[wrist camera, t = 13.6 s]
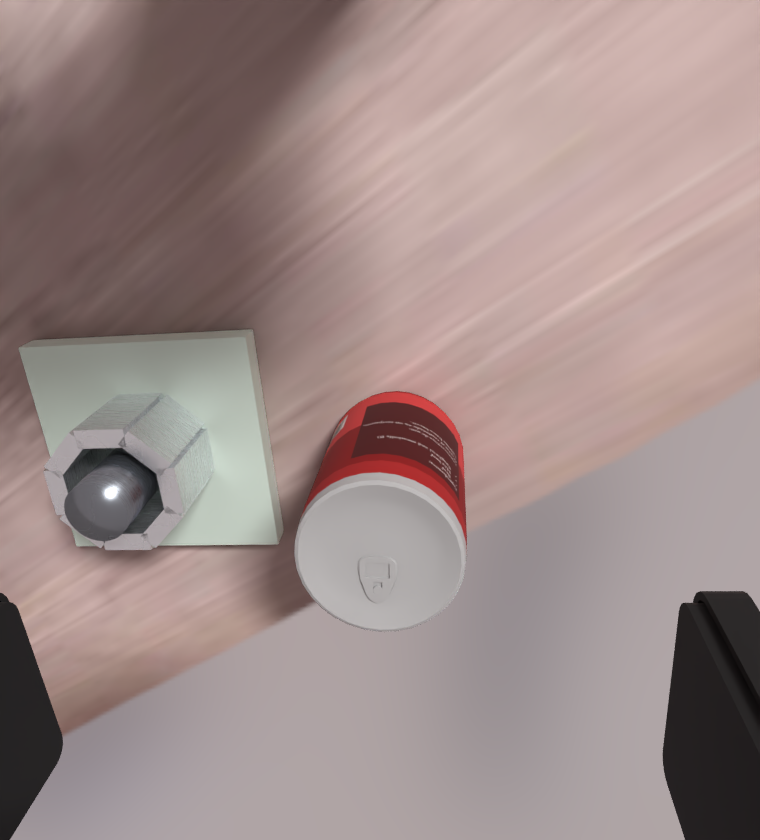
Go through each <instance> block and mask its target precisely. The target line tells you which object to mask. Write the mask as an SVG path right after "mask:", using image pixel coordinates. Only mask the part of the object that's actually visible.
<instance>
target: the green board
mask: <svg viewBox="0 0 760 840" xmlns="http://www.w3.org/2000/svg"><path fill="white" fill-rule="evenodd" d="M18 349H19V352H20V356H21V359H22V362H23V366H24V369H25V373H26V376H27V379H28V383H29V386H30V390H31V393H32V396H33V400H34V403H35V407H36V410H37V413H38V417H39V420H40V424H41V427H42V430H43V434H44V437H45V440H46V444H47V447H48V451H49V454H50V457H51V456H52V455H53V453H54V452H55V451H56V449H57V448H58V447H59V445H60V444H61V442H62V441H63V440H64V438H65V437H66V436H67V434H68V433H69V432H70V431H71V430H73V429H74V428H75V427H76V426H78V425H79V424H80V423H81V422H83V421H84V420H85V419H86V418H88V417H89V416H90V415H91V414H93V413H94V412H95V411H96V410H98V409H99V408H100V407H102V406H103V405H104V404H105V403H107V402H108V401H109V400H110V399H112V398H113V397H114V396H115V397H116V396H117V395H118V394H141V393H163V398H164V397H165V396H166V395H169V396H170V397H171V398H172V399H174V400H175V401H176V402H178V403H179V404H180V405H181V406H183V407H184V408H185V409H187V410H188V411H189V412H190V413H192V414H193V415H194V416H195V417H197V418H198V419H199V420H201V421H202V422H203V423H204V425H203V426H202V427H201V428H207V429H208V435H209V440H210V445H211V451H212V456H213V461H214V466H215V469H214V471H213V472H214V473H213V475H212V476H211V478H210V479H209V480H208V482H207V483H206V485H205V486H204V488H203V489H202V491H201V492H200V493H199V495H198V496H197V498H196V499H195V501H194V502H193V504H192V505H191V506H190V508H189V509H188V511H187V512H186V514H185V515H184V517H183V518H182V519H181V520H180V521H179V523H178V524H177V525H176V526H175V527H174V528H173V529H172V530H171V532H170V533H169V534H168V535H167V536H166V537H165V538H164V539H163V541H162V542H161V543H160V544H159V545H158V546H167V545H273V544H279V542H280V539H281V537H282V534H283V532H284V528H283V522H282V515H281V509H280V502H279V496H278V489H277V483H276V476H275V470H274V463H273V457H272V450H271V443H270V437H269V430H268V424H267V417H266V411H265V404H264V398H263V391H262V385H261V378H260V372H259V365H258V359H257V352H256V346H255V339H254V333H253V329H248V330H227V331H207V332H187V333H166V334H146V335H125V336H105V337H84V338H64V339H43V340H32V341H30V342H29V343H27V344H25V345H23V346H21V347H19V348H18ZM114 449H115V448H112V451H113V450H114ZM71 529H72V528H71ZM72 532H73V536H74V539H75V542H76V546H96V545H95V544H93V543H92V542H91V541H89V540H88V539H86V538H85V537H84V536H82V535H81V534H79V533H78V532H77V531H75V530H74V529H72ZM103 546H104V545H103Z"/></svg>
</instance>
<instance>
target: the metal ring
mask: <svg viewBox="0 0 760 840" xmlns="http://www.w3.org/2000/svg"><path fill="white" fill-rule="evenodd" d="M203 425H204V423H203V422H202V421H201V420H199V419H198V418H197V417H195V416H194V415H193V414H192V413H190V412H189V411H188V410H187V409H185V408H184V407H183V406H181V405H180V404H179V403H178V402H176V401H175V400H174V399H172V398H171V397H170V396H169V395H166V396H165V397H164V398H163V393H141V394H118V395H117V396H116V397H115V396H114V397H113V398H112V399H110V400H109V401H108V402H107V403H105V404H104V405H103V406H102V407H100V408H99V409H98V410H96V411H95V412H94V413H93V414H91V415H90V416H89V417H88V418H86V419H85V420H84V421H83V422H81V423H80V424H79V425H78V426H76V427H75V428H74V429H73V430H71V431H70V432H69V433H68V434H67V436H66V437H65V438H64V440H63V441H62V442H61V444H60V445H59V447H58V448H57V449H56V451H55V452H54V453H53V455H52V456H51V457H50V459H49V460H48V462H47V463H46V464H45V466H44V467H45V468H46V469H45V470H44V471H43V472H44V476H45V479H46V482H47V486H48V489H49V492H50V496H51V499H52V502H53V506H54V509H55V512H56V515H62V517H61V518H60V520H61V521H63V522H64V523H65V524H67V525H68V526H70V527H71V528H72V529H74V528H73V527H72V525H71V524H70V523H69V521H68V519H67V517H66V514H65V511H64V502H65V498H66V496H67V494H68V493H69V492H70V491H71V490H72V489H73V488H74V487H75V486H76V485H77V484H78V483H79V482H80V481H81V480H82V479H83V478H84V477H85V476H87V475H88V474H89V473H90V472H91V471H92V470H93V469H94V468H95V467H96V466H97V465H98V464H99V463H100V462H101V461H102V460H103V459H104V458H105V457H106V456H107V455H109V454H110V453H111V452H112V448H123V449H124V450H126V451H127V452H128V453H130V454H131V455H132V456H134V457H135V458H136V459H138V460H139V461H140V462H141V463H143V464H144V465H145V466H147V467H148V468H149V469H151V470H152V471H153V472H155V473H156V475H157V480H158V484H159V489H158V491H157V492H156V493H155V494H154V496H153V497H152V498H151V499H150V500H149V502H148V503H147V504H146V505H145V507H144V508H143V509H142V510H141V512H140V513H139V514H138V515H137V517H136V518H135V519H134V520H133V521H132V523H131V524H130V525H129V526H128V528H127V529H126V530H125V531H124V533H123V534H122V535H121V536H119V537H118V538H116V539H113V540H110V541H97V540H93V539H90V538H87V537H85V536H84V537H85V538H86V539H88V540H89V541H91V542H92V543H93V544H95V545H96V546H98V547H99V548H101V547H102V546H103V545H104V547H105V550H152V549H153V547H155V548H156V547H157V546H158V545H159V544H160V543H161V542H162V541H163V539H164V538H165V537H166V536H167V535H168V534H169V533H170V532H171V530H172V529H173V528H174V527H175V526H176V525H177V524H178V523H179V521H180V520H181V519H182V518H183V517H184V515H185V514H186V512H187V511H188V509H189V508H190V506H191V505H192V504H193V502H194V501H195V499H196V498H197V496H198V495H199V493H200V492H201V491H202V489H203V488H204V486H205V485H206V483H207V482H208V480H209V479H210V478H211V476H212V475H213V473H214V472H213V471H214V469H215V466H214V461H213V456H212V451H211V445H210V440H209V435H208V429H207V428H201V427H202V426H203ZM74 530H75V529H74ZM75 531H76V530H75ZM77 532H78V531H77ZM78 533H79V532H78ZM79 534H80V533H79ZM81 535H82V534H81ZM82 536H83V535H82Z"/></svg>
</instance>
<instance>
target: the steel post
mask: <svg viewBox="0 0 760 840" xmlns="http://www.w3.org/2000/svg"><path fill="white" fill-rule="evenodd" d="M158 489H159V484H158V480H157V475H156V473H155V472H153V471H152V470H151V469H149V468H148V467H147V466H145V465H144V464H143V463H141V462H140V461H139V460H138V459H136V458H135V457H134V456H132V455H131V454H130V453H128V452H127V451H126V450H124V449H123V448H115V449H114V450H113V451H112V452H111V453H110V454H109V455H107V456H106V457H105V458H104V459H103V460H102V461H101V462H100V463H99V464H98V465H97V466H96V467H95V468H94V469H93V470H92V471H91V472H90V473H89V474H88V475H87V476H85V477H84V478H83V479H82V480H81V481H80V482H79V483H78V484H77V485H76V486H75V487H74V488H73V489H72V490H71V491H70V492H69V493H68V494H67V496H66V498H65V502H64V511H65V514H66V517H67V519H68V521H69V523H70V524H71V525H72V527H73V528H74V529H75V530H76V531H78V532H79V533H80V534H82V535H83V536H85V537H87V538H90V539H93V540H97V541H110V540H113V539H116V538H118V537H119V536H121V535H122V534H123V533H124V531H125V530H126V529H127V528H128V526H129V525H130V524H131V523H132V521H133V520H134V519H135V518H136V517H137V515H138V514H139V513H140V512H141V510H142V509H143V508H144V507H145V505H146V504H147V503H148V502H149V500H150V499H151V498H152V497H153V496H154V494H155V493H156V492H157V491H158Z"/></svg>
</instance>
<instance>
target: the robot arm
mask: <svg viewBox="0 0 760 840" xmlns="http://www.w3.org/2000/svg"><path fill="white" fill-rule="evenodd" d="M62 746H63V738H62V734H61V731H60V728H59V725H58V722H57V719H56V716H55V713H54V711H53V708H52V705H51V702H50V699H49V696H48V693H47V691H46V688H45V685H44V682H43V679H42V676H41V673H40V670H39V668H38V665H37V662H36V659H35V656H34V653H33V650H32V648H31V645H30V642H29V639H28V636H27V633H26V630H25V627H24V625H23V622H22V619H21V616H20V613H19V610H18V608H17V607H16V605H15V604H13V603H10V602H9V600H8V598H7V597H6V596H5V595H4V594H3V593H0V840H10V838H11V837H12V835H13V834H14V832H15V830H16V829H17V827H18V826H19V824H20V822H21V821H22V819H23V817H24V816H25V814H26V813H27V811H28V809H29V808H30V806H31V805H32V803H33V801H34V800H35V798H36V796H37V795H38V793H39V792H40V790H41V789H42V787H43V785H44V783H45V782H46V780H47V779H48V777H49V776H50V774H51V772H52V771H53V769H54V768H55V766H56V764H57V762H58V760H59V758H60V755H61V752H62ZM663 766H664V773H665V778H666V781H667V785H668V788H669V791H670V794H671V797H672V800H673V803H674V806H675V809H676V813H677V816H678V819H679V822H680V825H681V828H682V831H683V834H684V837H685V840H760V611H759V610H758V608H757V606H756V605H755V603H754V602H753V600H752V598H751V597H750V596H749V595H748V594H747V593H745V592H743V591H728V592H726V591H724V592H723V591H715V592H713V591H702V592H701V591H700V592H698V593H696V595H695V597H694V601H693V603H683V604H681V606H680V610H679V617H678V625H677V634H676V643H675V651H674V660H673V669H672V677H671V686H670V694H669V703H668V712H667V720H666V728H665V738H664V746H663Z"/></svg>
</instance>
